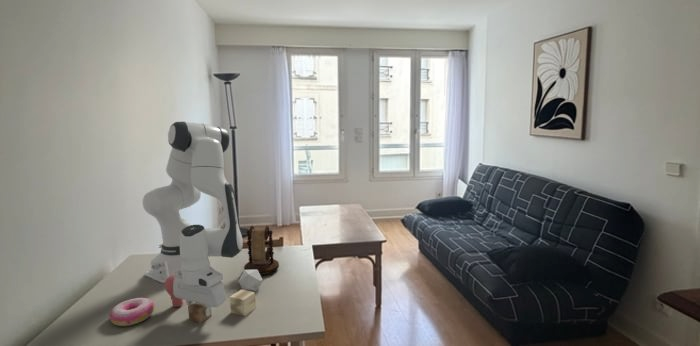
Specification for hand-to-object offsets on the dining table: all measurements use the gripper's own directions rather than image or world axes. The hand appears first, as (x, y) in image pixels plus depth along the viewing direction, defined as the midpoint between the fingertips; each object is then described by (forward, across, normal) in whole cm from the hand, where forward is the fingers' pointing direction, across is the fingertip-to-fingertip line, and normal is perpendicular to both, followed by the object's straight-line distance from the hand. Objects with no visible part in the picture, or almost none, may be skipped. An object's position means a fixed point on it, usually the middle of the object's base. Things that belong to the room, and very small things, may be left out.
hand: (200, 313), depth 136 cm
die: (+2, +2, +24) cm, 24 cm away
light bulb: (+2, -14, +3) cm, 14 cm away
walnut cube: (+2, 0, 0) cm, 2 cm away
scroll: (+2, -6, +41) cm, 41 cm away
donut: (+2, -22, -9) cm, 24 cm away
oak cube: (+2, +10, +10) cm, 14 cm away
